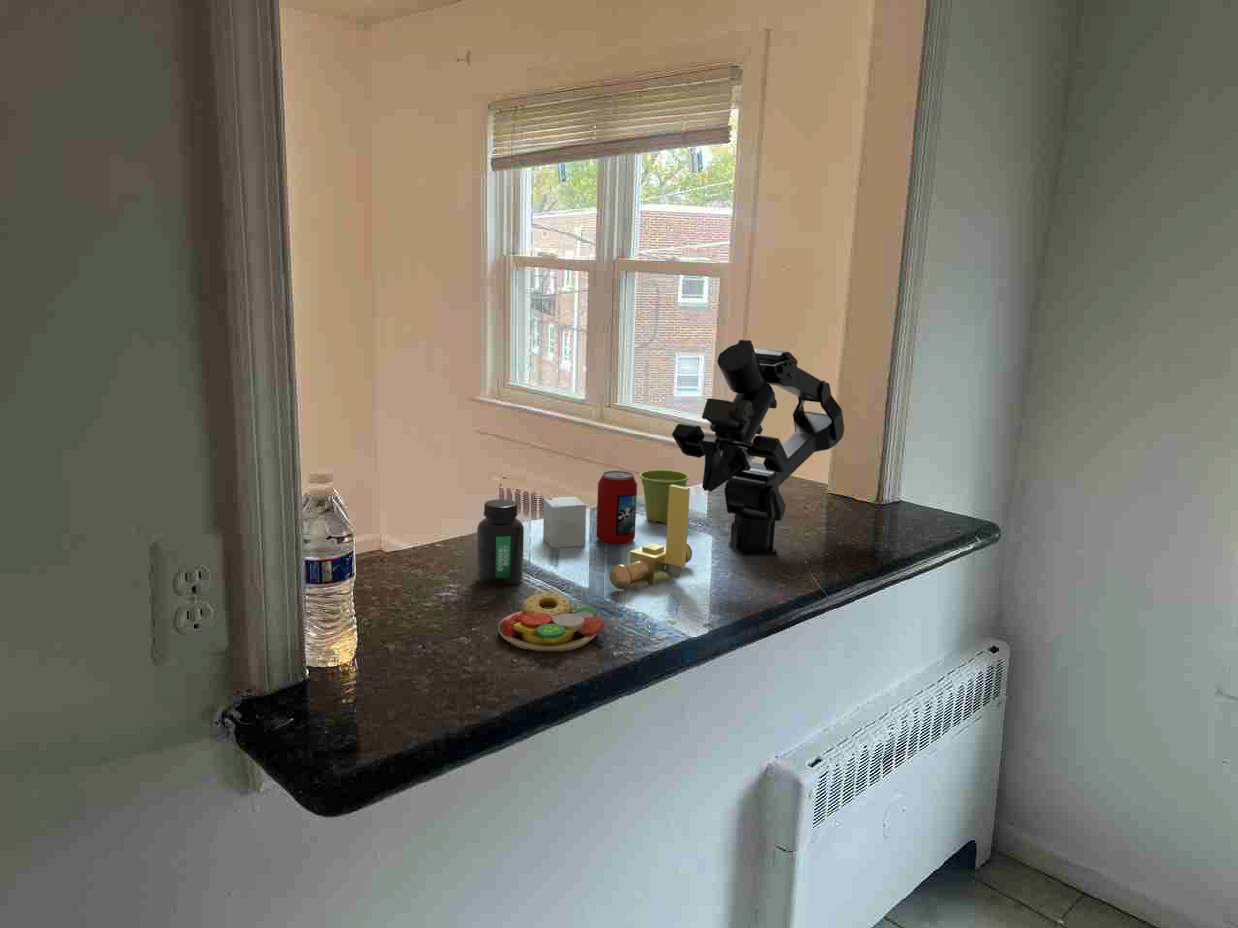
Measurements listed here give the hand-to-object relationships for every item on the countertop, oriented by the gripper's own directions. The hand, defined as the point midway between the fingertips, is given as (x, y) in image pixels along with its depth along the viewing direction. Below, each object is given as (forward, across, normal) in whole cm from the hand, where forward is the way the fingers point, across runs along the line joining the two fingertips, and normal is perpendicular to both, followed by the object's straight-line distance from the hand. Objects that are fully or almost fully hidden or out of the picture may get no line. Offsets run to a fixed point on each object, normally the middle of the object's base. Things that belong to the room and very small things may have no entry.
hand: (706, 489), depth 139 cm
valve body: (+15, -4, +4) cm, 16 cm away
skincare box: (+12, -26, +7) cm, 30 cm away
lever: (+14, 0, +3) cm, 14 cm away
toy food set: (+34, -1, -14) cm, 37 cm away
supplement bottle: (+27, -20, -8) cm, 35 cm away
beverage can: (+7, -20, +12) cm, 25 cm away
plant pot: (-5, -22, +25) cm, 34 cm away
